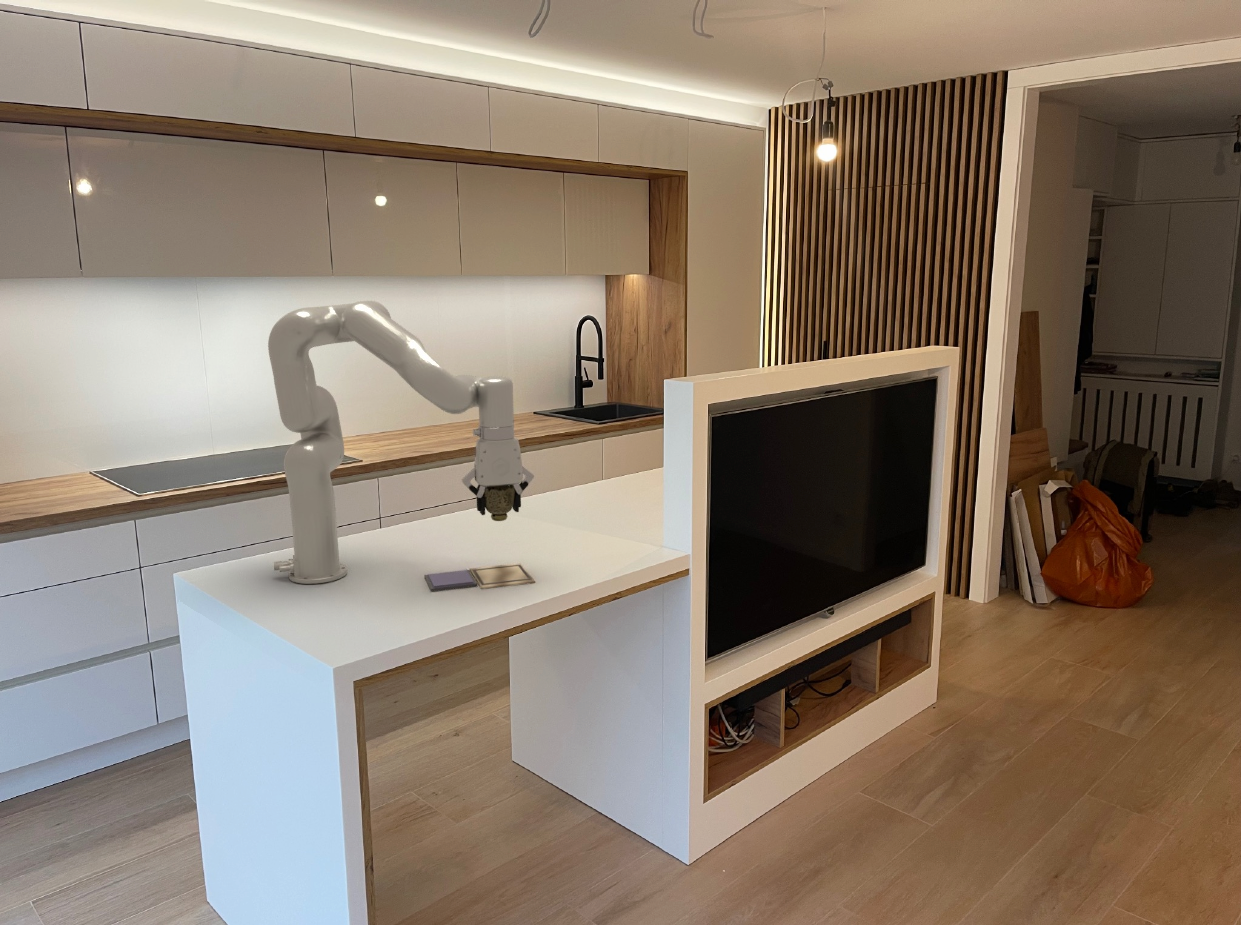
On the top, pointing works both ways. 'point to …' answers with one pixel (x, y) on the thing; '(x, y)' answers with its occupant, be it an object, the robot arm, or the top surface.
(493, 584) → the board
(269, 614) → the top surface
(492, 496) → the cup
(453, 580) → the ink pad
